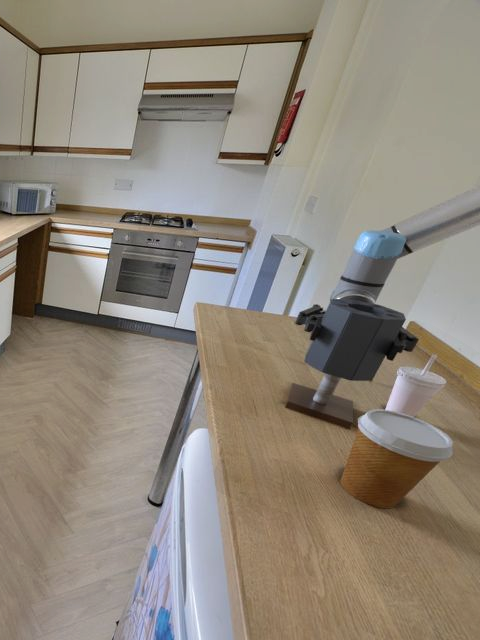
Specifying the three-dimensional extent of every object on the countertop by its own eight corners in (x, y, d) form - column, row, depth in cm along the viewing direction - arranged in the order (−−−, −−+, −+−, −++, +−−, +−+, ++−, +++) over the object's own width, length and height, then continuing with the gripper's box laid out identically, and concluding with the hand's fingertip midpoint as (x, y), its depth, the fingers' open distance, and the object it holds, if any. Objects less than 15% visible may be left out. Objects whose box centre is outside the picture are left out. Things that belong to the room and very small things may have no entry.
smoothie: (373, 416, 80) (410, 352, 74) (375, 404, 84) (410, 342, 78) (419, 431, 76) (462, 365, 70) (419, 418, 80) (459, 354, 74)
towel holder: (349, 407, 82) (379, 352, 77) (349, 429, 76) (382, 370, 70) (289, 388, 88) (313, 336, 83) (284, 407, 81) (310, 351, 76)
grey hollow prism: (370, 367, 79) (402, 309, 73) (372, 387, 72) (407, 324, 66) (306, 350, 84) (331, 295, 79) (302, 367, 77) (330, 307, 72)
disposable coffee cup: (423, 505, 59) (471, 439, 54) (391, 527, 55) (439, 458, 50) (346, 463, 67) (381, 401, 62) (313, 479, 63) (348, 415, 58)
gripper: (415, 344, 83) (431, 385, 67) (282, 313, 96) (269, 341, 80) (436, 309, 80) (457, 344, 64) (295, 282, 92) (284, 306, 77)
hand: (352, 343), depth 72 cm, fingers closed on grey hollow prism, 10 cm apart
